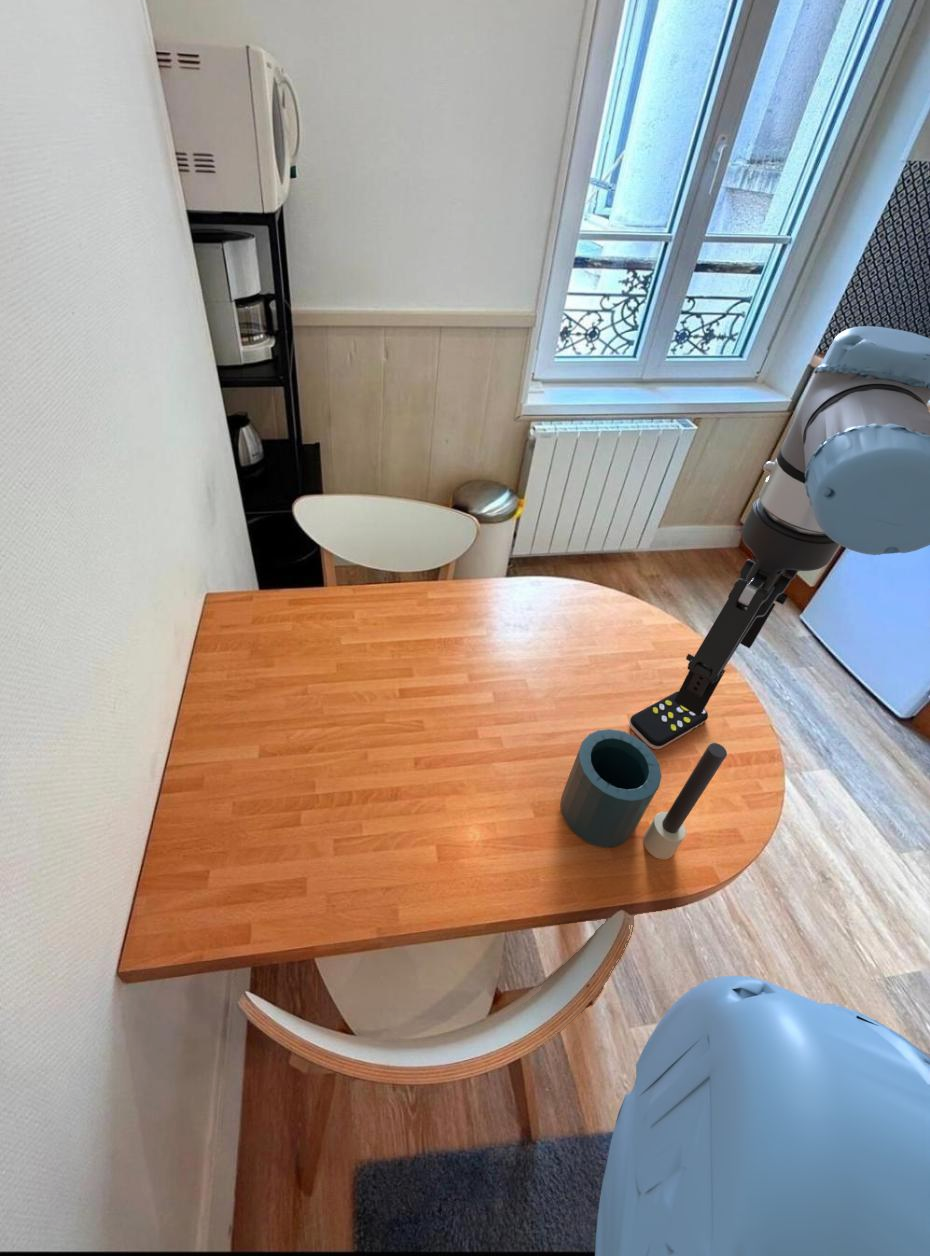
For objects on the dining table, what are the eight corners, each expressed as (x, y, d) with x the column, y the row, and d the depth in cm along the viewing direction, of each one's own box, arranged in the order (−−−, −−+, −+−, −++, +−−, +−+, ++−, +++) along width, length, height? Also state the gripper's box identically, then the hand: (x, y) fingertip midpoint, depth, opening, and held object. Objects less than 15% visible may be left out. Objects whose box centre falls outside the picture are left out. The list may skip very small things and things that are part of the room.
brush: (679, 857, 81) (744, 764, 67) (651, 861, 80) (710, 768, 66) (665, 828, 84) (724, 733, 70) (638, 831, 83) (692, 736, 69)
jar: (647, 843, 82) (675, 795, 75) (575, 852, 81) (597, 805, 73) (616, 774, 90) (639, 725, 82) (550, 782, 88) (567, 732, 81)
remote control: (624, 723, 97) (627, 716, 96) (679, 693, 102) (682, 686, 101) (653, 754, 93) (657, 746, 92) (709, 721, 98) (713, 713, 97)
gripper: (803, 451, 63) (726, 601, 76) (700, 552, 48) (628, 716, 62) (884, 479, 59) (789, 633, 72) (799, 599, 44) (699, 763, 58)
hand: (714, 672), depth 67 cm, fingers open, 13 cm apart
